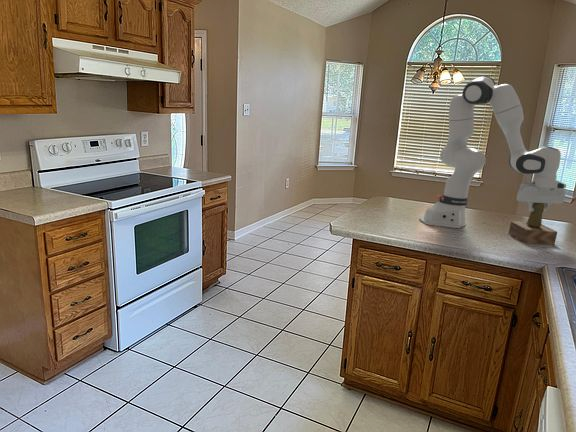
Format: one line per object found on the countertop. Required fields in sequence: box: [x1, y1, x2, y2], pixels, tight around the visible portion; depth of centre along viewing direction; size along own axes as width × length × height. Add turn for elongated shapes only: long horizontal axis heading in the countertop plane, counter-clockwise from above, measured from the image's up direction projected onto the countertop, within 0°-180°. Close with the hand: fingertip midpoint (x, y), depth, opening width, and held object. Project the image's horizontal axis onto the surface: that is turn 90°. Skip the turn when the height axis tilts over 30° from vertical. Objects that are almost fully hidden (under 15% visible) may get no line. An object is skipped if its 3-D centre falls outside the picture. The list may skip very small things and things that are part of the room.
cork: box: [526, 203, 545, 227], centre depth 195 cm, size 6×6×11 cm
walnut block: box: [508, 221, 558, 245], centre depth 197 cm, size 14×14×6 cm
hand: (537, 212), depth 195 cm, fingers closed on cork, 4 cm apart
